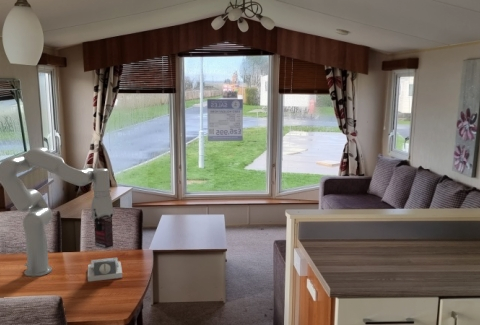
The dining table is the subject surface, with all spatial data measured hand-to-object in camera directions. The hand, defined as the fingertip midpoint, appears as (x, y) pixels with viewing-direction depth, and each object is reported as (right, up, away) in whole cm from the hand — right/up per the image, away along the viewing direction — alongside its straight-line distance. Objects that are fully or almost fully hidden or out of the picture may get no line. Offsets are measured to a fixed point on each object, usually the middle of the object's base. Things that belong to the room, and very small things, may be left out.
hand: (103, 228), depth 217 cm
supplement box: (0, -10, +1) cm, 10 cm away
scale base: (0, -23, +2) cm, 23 cm away
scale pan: (0, -19, +3) cm, 19 cm away
